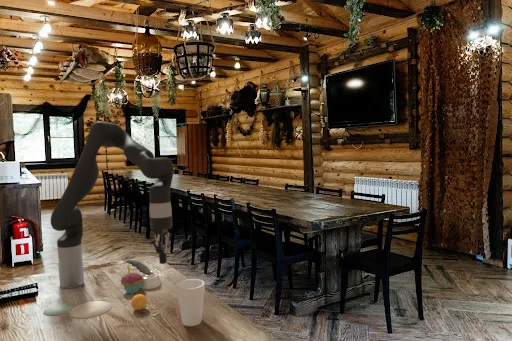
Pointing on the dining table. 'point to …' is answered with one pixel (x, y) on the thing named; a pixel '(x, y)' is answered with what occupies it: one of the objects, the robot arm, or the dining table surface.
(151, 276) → the inkwell
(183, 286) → the foam cup
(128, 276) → the cupcake
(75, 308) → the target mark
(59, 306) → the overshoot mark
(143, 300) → the ball
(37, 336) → the dining table surface
